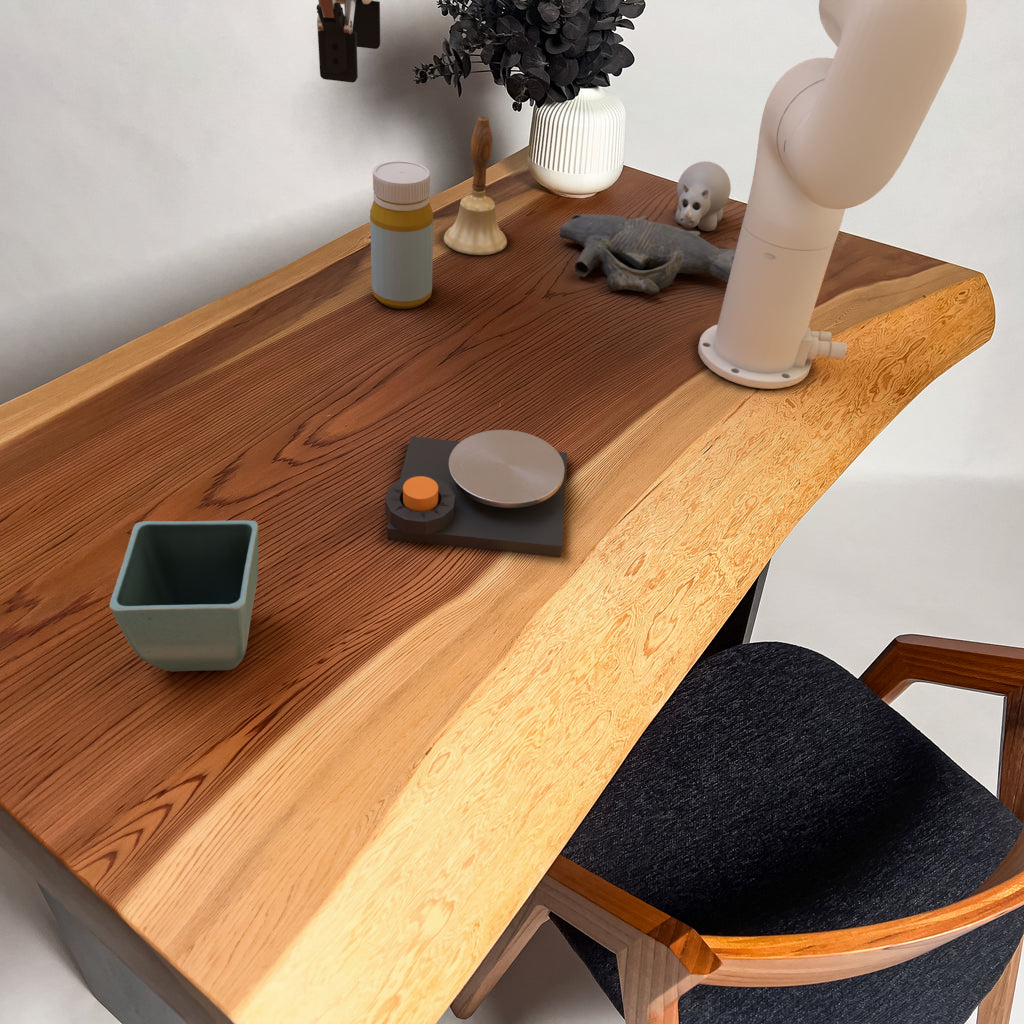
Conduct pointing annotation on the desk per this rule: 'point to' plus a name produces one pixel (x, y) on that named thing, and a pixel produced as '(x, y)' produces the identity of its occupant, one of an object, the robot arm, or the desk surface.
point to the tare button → (420, 494)
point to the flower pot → (188, 593)
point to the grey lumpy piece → (642, 251)
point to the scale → (470, 510)
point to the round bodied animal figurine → (702, 195)
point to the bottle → (401, 234)
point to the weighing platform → (506, 468)
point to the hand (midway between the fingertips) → (351, 62)
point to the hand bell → (477, 204)
